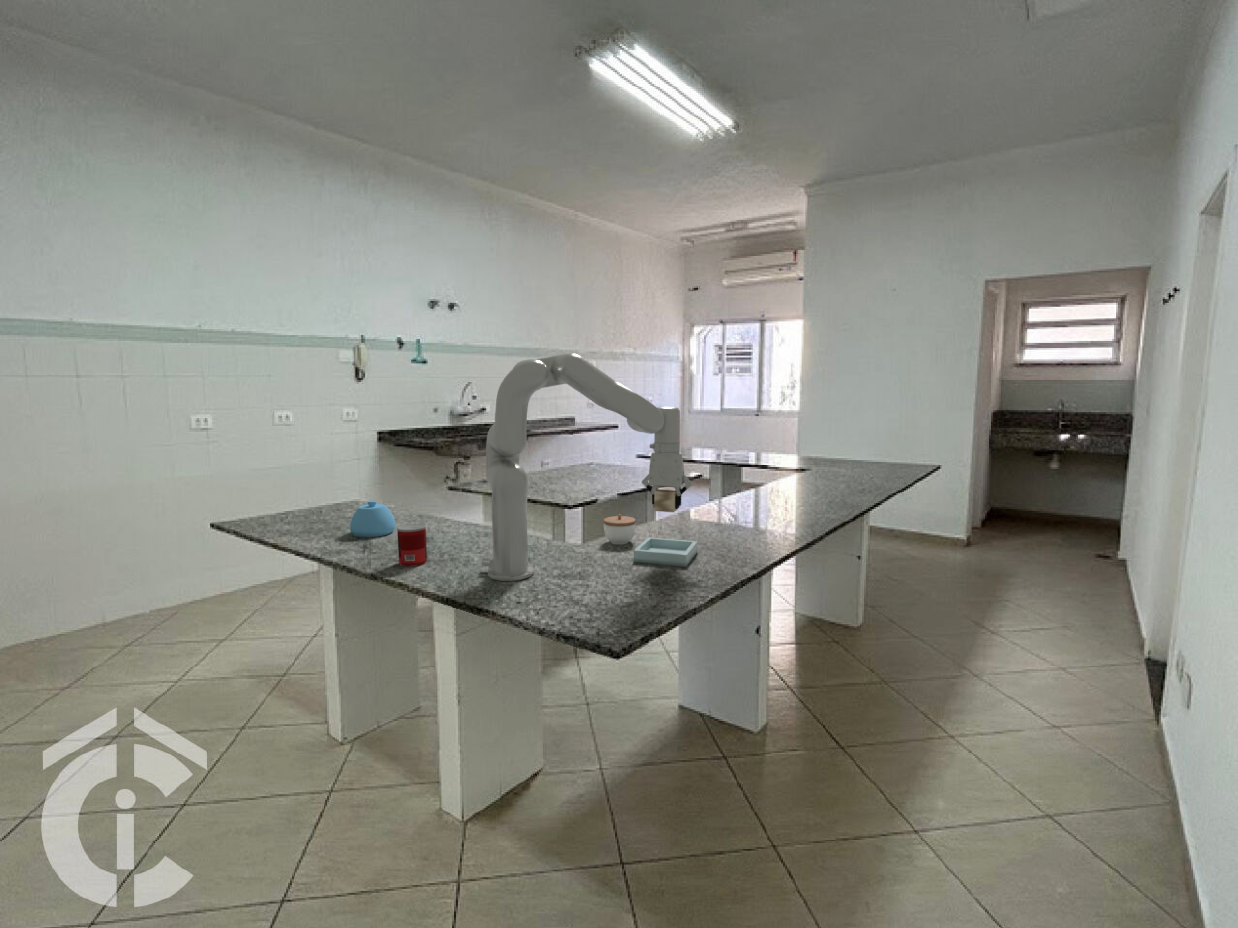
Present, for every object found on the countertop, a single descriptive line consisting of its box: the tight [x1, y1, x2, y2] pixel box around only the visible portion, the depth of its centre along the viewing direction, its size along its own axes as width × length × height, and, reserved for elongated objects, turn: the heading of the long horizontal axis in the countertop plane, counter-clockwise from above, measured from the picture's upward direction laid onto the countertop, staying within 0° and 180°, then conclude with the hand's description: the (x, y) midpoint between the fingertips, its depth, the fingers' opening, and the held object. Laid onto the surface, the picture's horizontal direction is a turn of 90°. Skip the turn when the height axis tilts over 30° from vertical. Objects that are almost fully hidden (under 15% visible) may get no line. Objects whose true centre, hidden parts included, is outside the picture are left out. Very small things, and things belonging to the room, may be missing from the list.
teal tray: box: [633, 537, 698, 568], centre depth 189 cm, size 16×16×4 cm
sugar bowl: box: [349, 500, 397, 538], centre depth 218 cm, size 15×15×12 cm
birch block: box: [653, 487, 678, 513], centre depth 186 cm, size 6×6×6 cm
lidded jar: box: [603, 513, 637, 545], centre depth 206 cm, size 11×11×9 cm
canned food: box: [396, 523, 428, 567], centre depth 183 cm, size 8×8×11 cm
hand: (666, 506), depth 187 cm, fingers closed on birch block, 6 cm apart
